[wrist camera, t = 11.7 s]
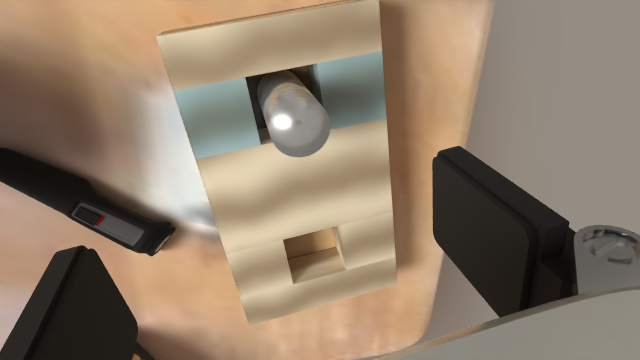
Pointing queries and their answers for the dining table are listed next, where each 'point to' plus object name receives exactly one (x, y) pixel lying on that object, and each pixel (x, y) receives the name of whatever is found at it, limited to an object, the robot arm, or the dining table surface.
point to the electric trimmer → (82, 203)
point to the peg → (292, 114)
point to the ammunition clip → (141, 353)
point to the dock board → (285, 171)
